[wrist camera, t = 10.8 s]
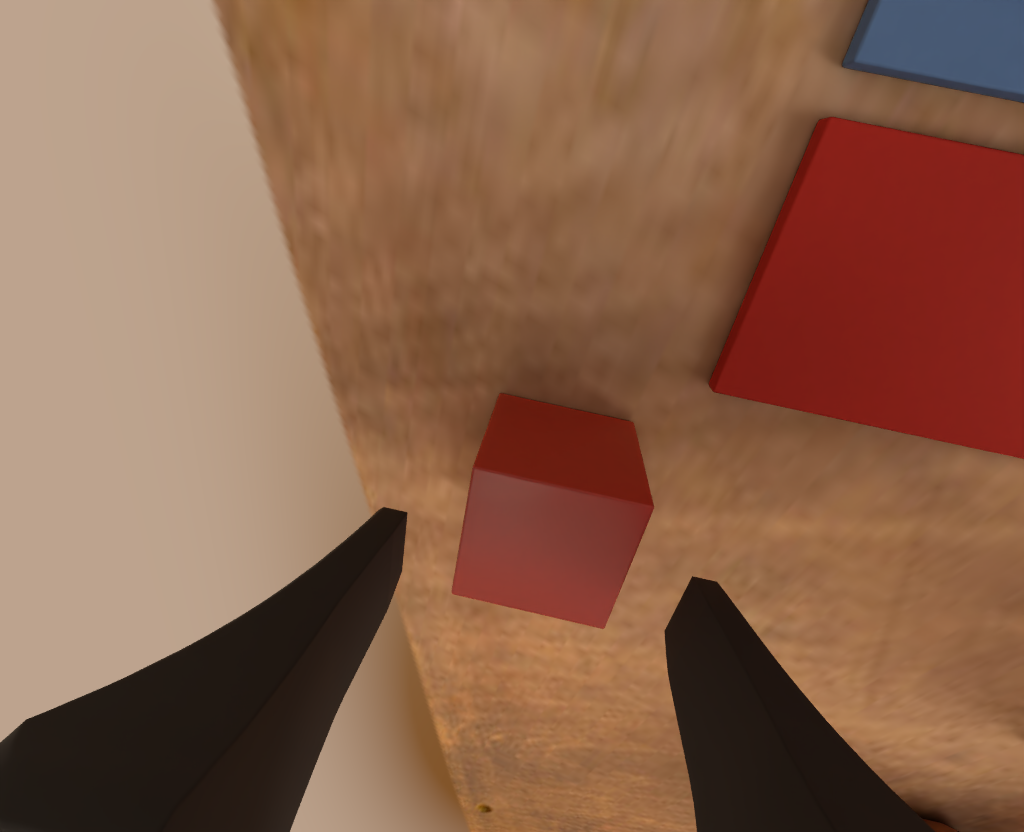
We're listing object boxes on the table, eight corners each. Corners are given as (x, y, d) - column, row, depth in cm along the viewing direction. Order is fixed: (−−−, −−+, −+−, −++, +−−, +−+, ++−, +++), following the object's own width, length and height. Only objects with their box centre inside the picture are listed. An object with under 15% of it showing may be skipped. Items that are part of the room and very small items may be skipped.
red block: (597, 526, 17) (604, 630, 13) (479, 499, 17) (450, 594, 13) (634, 421, 15) (655, 507, 11) (499, 391, 15) (472, 466, 11)
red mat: (1101, 469, 14) (1122, 481, 13) (707, 384, 14) (712, 392, 14) (1336, 221, 11) (1376, 223, 10) (817, 119, 11) (830, 115, 10)
